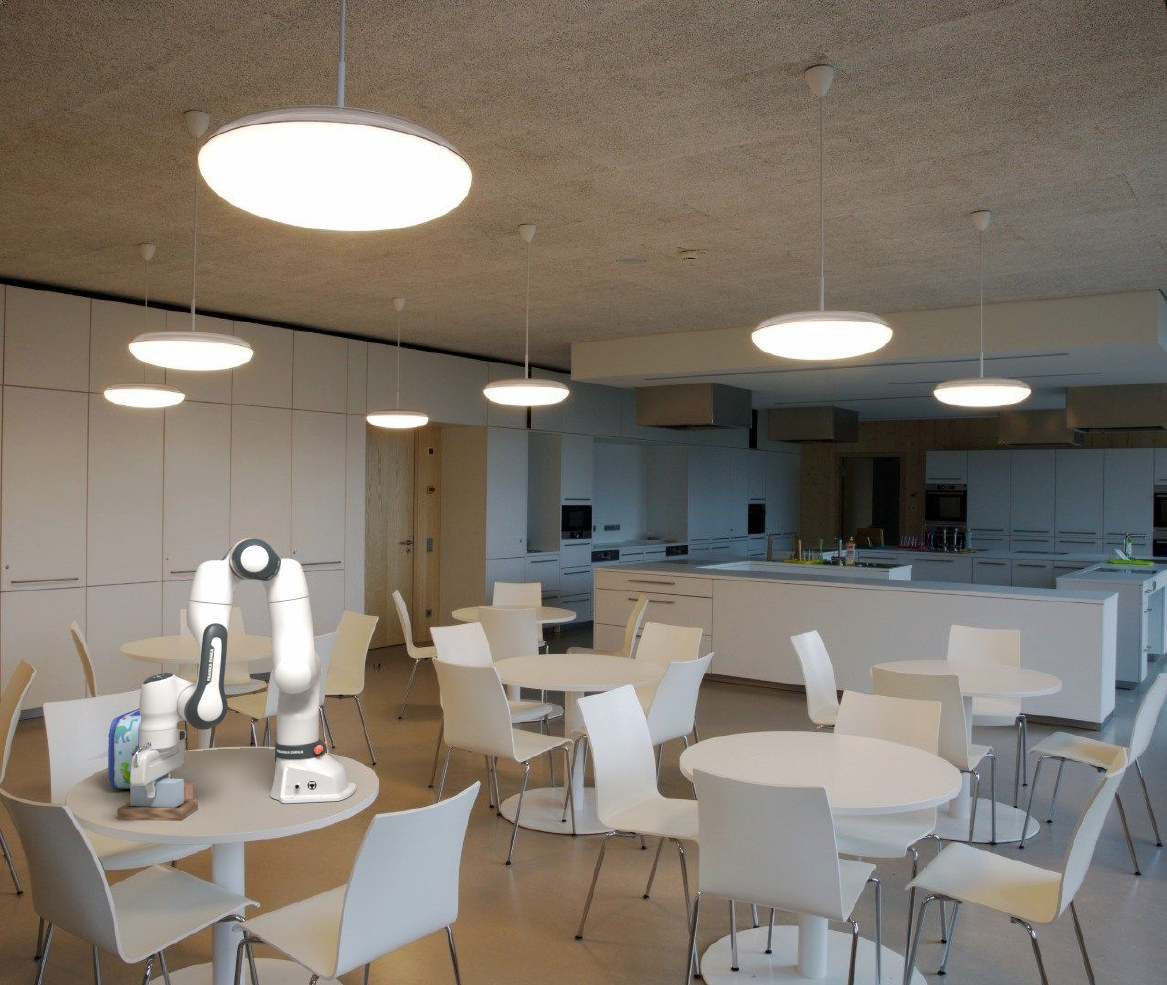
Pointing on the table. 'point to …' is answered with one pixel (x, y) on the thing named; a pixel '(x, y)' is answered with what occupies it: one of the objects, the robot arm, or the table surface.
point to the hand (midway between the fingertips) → (157, 793)
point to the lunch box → (123, 748)
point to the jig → (158, 811)
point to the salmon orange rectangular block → (188, 790)
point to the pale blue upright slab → (159, 794)
